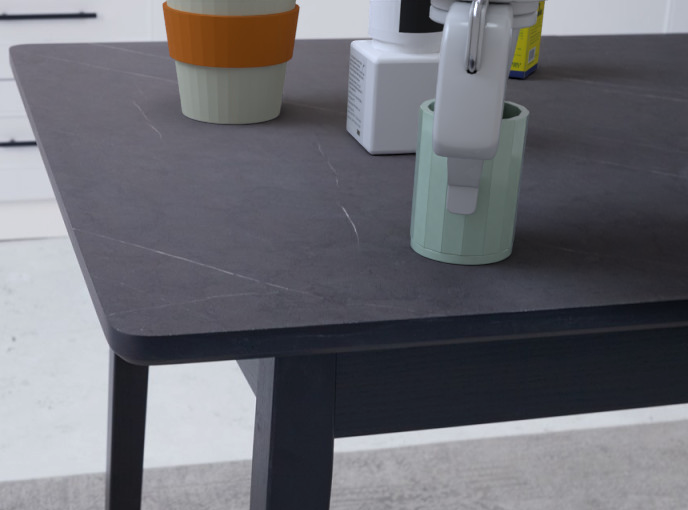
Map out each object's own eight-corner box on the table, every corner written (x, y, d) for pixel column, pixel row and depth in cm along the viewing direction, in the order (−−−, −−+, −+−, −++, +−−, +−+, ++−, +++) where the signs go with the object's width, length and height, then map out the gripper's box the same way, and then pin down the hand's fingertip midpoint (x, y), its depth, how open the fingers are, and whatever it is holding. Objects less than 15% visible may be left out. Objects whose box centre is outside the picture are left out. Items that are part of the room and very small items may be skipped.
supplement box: (537, 69, 125) (550, -38, 120) (524, 80, 120) (537, -31, 115) (484, 64, 127) (494, -42, 122) (469, 74, 122) (479, -36, 117)
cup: (531, 246, 75) (548, 109, 71) (475, 273, 71) (491, 128, 67) (447, 223, 79) (459, 91, 75) (389, 246, 75) (399, 107, 71)
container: (429, 128, 102) (442, -27, 96) (459, 152, 95) (475, -14, 89) (345, 131, 100) (352, -27, 94) (369, 156, 93) (379, -13, 87)
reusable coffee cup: (235, 89, 113) (236, -75, 106) (328, 114, 105) (335, -62, 98) (133, 109, 105) (127, -68, 98) (225, 137, 97) (225, -52, 90)
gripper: (543, -11, 57) (511, 251, 64) (543, -56, 75) (518, 153, 82) (417, -18, 58) (397, 240, 65) (446, -60, 76) (429, 146, 83)
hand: (465, 191), depth 73 cm, fingers closed on cup, 7 cm apart
